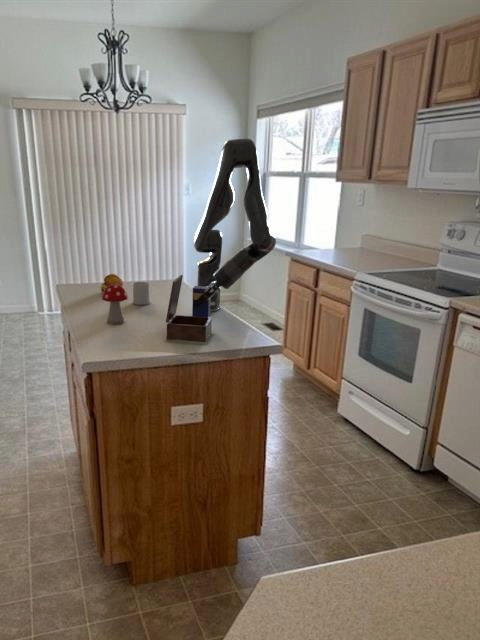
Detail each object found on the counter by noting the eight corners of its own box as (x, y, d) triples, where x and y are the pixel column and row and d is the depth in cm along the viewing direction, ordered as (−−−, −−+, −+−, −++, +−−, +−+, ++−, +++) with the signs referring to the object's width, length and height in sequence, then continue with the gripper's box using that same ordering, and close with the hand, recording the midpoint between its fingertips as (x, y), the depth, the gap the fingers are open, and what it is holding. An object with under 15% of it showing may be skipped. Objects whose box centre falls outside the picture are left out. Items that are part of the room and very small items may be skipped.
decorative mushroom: (106, 326, 203) (104, 287, 197) (100, 320, 210) (98, 283, 205) (131, 324, 207) (130, 285, 201) (124, 318, 214) (123, 281, 208)
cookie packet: (210, 315, 202) (211, 286, 198) (208, 318, 198) (209, 289, 193) (194, 314, 203) (194, 285, 199) (192, 317, 199) (192, 288, 195)
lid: (183, 275, 190) (180, 274, 190) (175, 281, 178) (172, 281, 178) (175, 313, 196) (173, 313, 196) (167, 322, 184) (165, 322, 184)
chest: (211, 334, 196) (211, 317, 194) (205, 344, 185) (205, 326, 182) (174, 331, 199) (174, 314, 196) (166, 341, 187) (166, 323, 184)
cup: (135, 305, 234) (134, 285, 231) (130, 300, 243) (130, 280, 240) (151, 304, 236) (150, 284, 233) (146, 299, 245) (146, 280, 242)
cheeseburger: (110, 289, 264) (113, 270, 259) (125, 297, 260) (129, 278, 255) (95, 292, 256) (98, 272, 252) (111, 300, 252) (114, 280, 247)
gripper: (225, 262, 198) (193, 292, 205) (219, 268, 185) (185, 300, 192) (238, 277, 199) (206, 307, 206) (234, 284, 186) (199, 316, 193)
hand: (196, 303), depth 199 cm, fingers closed on cookie packet, 4 cm apart
